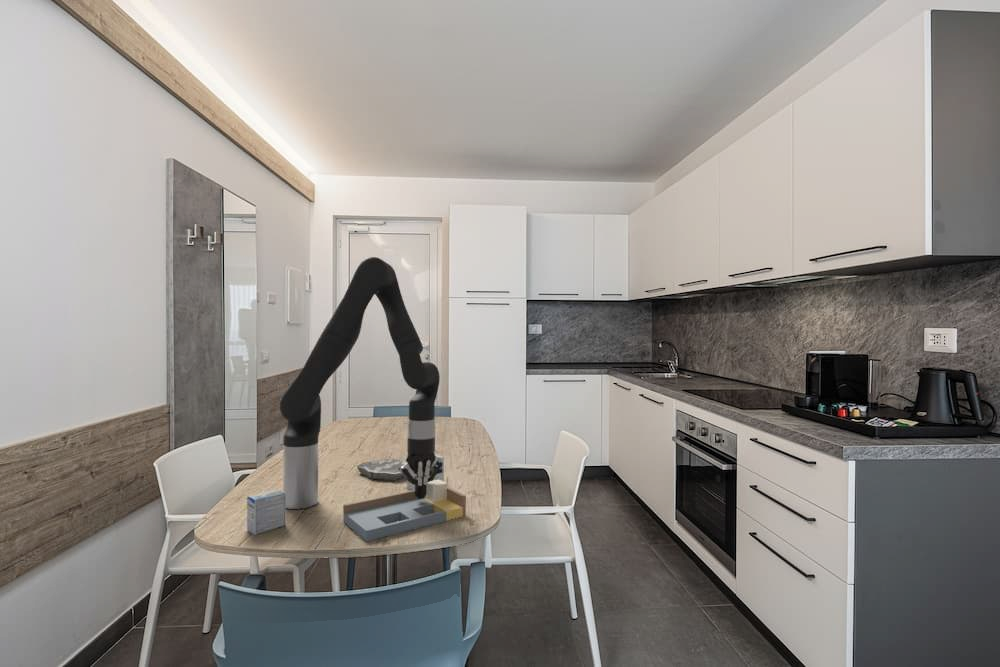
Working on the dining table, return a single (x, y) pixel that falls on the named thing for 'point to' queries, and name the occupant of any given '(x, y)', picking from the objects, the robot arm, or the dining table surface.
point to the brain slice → (382, 469)
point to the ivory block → (436, 490)
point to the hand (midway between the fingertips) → (420, 497)
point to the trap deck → (400, 513)
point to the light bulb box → (438, 476)
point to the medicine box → (266, 511)
